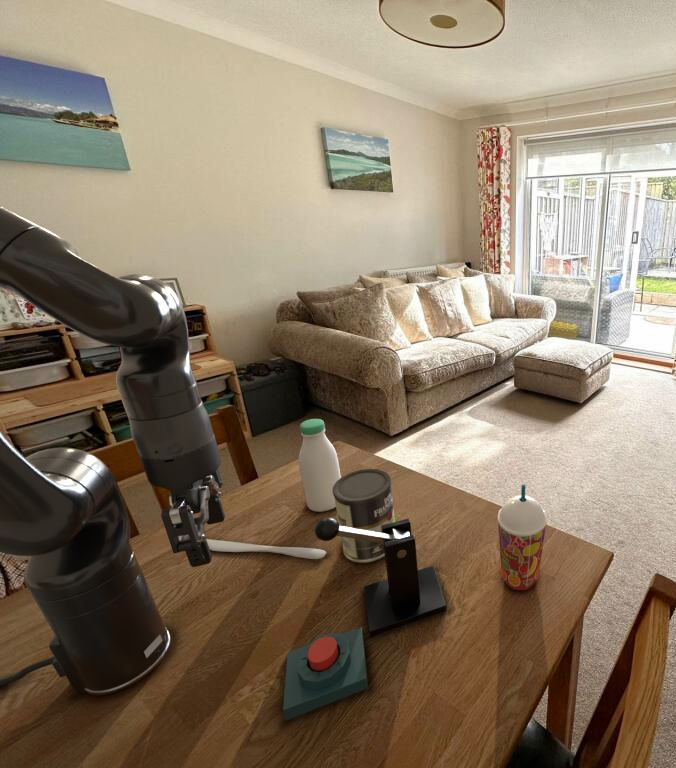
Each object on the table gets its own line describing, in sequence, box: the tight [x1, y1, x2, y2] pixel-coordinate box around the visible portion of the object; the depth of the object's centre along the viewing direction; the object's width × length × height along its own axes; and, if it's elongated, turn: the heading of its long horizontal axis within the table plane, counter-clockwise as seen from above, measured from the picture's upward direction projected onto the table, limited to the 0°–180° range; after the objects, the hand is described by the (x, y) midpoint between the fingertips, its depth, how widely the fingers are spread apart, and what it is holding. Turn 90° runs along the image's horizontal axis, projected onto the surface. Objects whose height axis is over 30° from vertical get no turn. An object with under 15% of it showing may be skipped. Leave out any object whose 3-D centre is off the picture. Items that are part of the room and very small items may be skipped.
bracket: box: [364, 518, 447, 638], centre depth 65 cm, size 12×9×15 cm
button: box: [308, 637, 338, 671], centre depth 55 cm, size 4×4×2 cm
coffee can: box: [333, 468, 396, 564], centre depth 77 cm, size 10×10×14 cm
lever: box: [314, 516, 410, 543], centre depth 60 cm, size 14×3×3 cm
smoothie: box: [497, 484, 548, 591], centre depth 69 cm, size 8×8×20 cm
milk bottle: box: [298, 418, 342, 512], centre depth 88 cm, size 8×8×20 cm
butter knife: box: [206, 538, 327, 560], centre depth 77 cm, size 1×27×3 cm
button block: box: [282, 627, 369, 721], centre depth 56 cm, size 10×8×4 cm
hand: (209, 541), depth 56 cm, fingers open, 8 cm apart
